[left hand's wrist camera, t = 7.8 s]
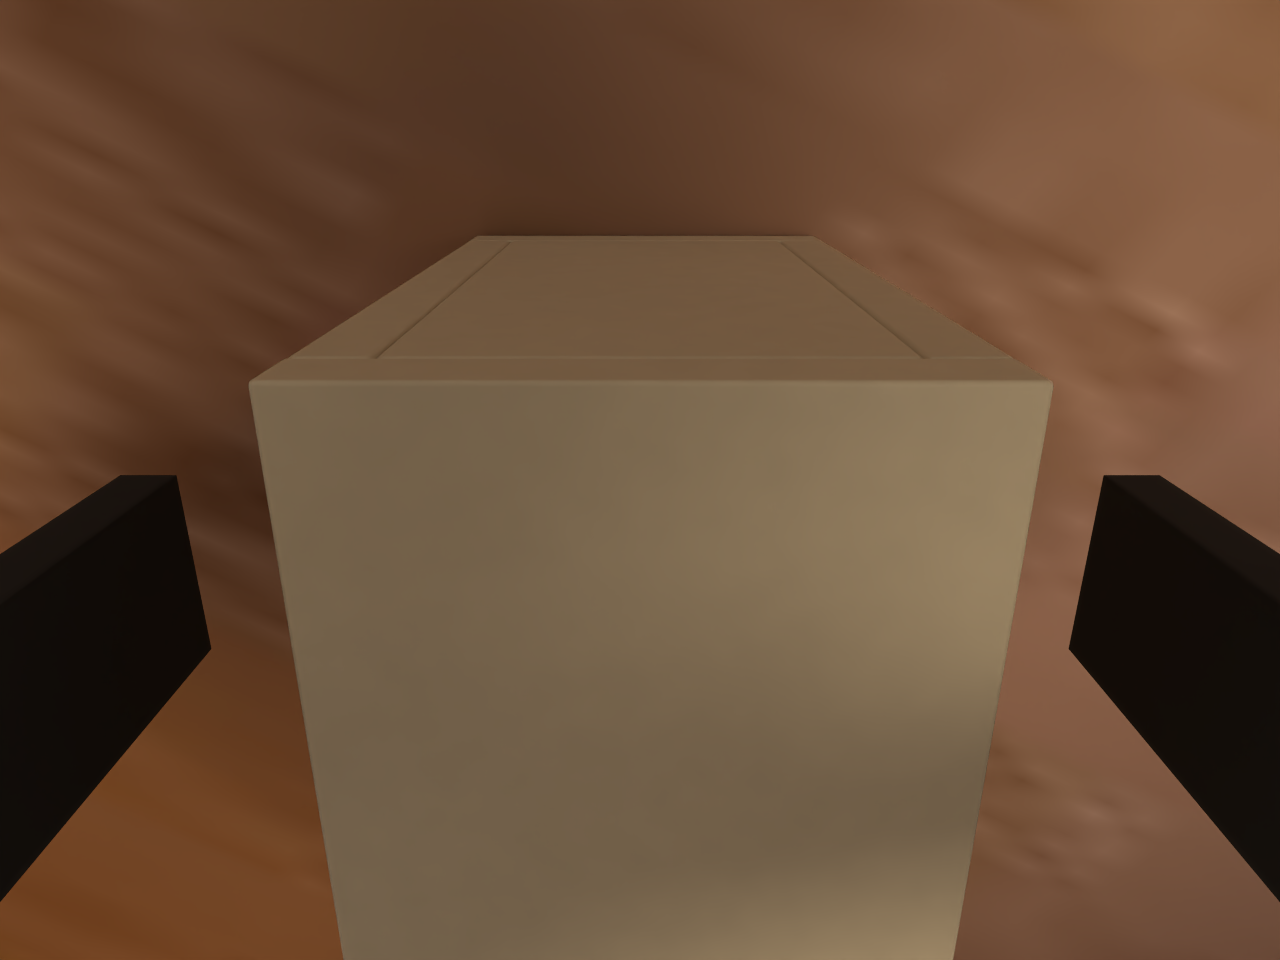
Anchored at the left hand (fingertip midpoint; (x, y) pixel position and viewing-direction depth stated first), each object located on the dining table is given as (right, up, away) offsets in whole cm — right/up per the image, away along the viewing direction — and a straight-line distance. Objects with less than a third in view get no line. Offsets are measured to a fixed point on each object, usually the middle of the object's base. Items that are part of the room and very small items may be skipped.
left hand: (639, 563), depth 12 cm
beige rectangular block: (0, -2, +8) cm, 8 cm away
